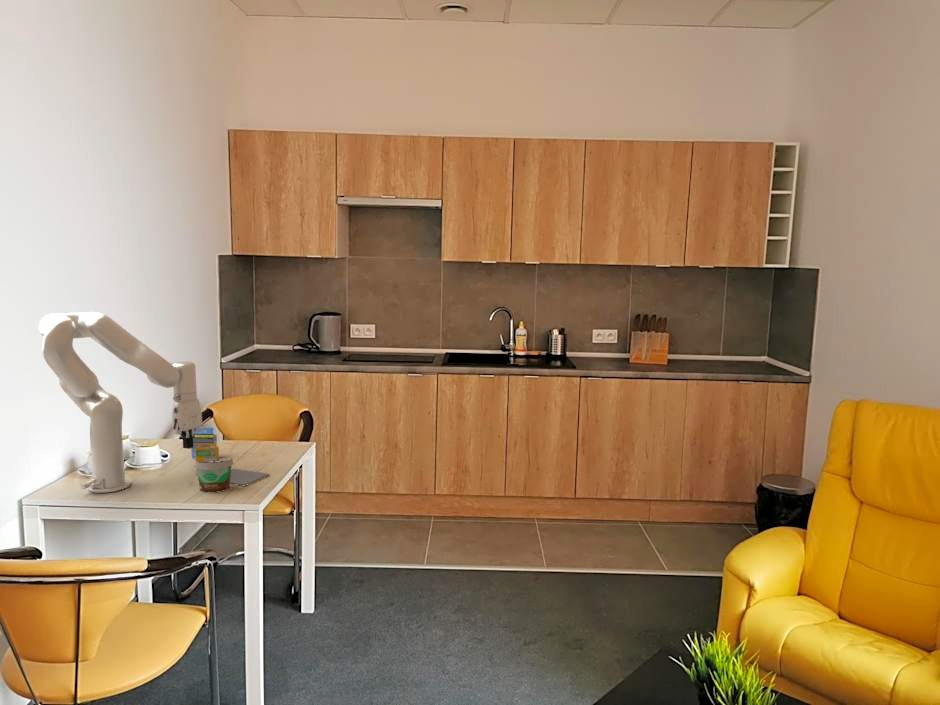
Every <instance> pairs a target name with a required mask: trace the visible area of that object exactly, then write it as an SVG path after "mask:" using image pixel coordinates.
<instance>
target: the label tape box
mask: <svg viewBox="0 0 940 705" xmlns="http://www.w3.org/2000/svg"><path fill="white" fill-rule="evenodd" d="M201 430H202V431H201ZM192 437H193V448H190V449H191V459H192V458H196V451H195V449H196V448H195V444H203V443H216V447H218V438H217V437H218V436H217V435H216V434H214V427H208V426H207V427H201V426H200V427H199V428H198V429H197V430H195V432H194V436H192ZM201 447H210V445H202V446H201Z"/></svg>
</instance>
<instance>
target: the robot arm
mask: <svg viewBox="0 0 940 705" xmlns="http://www.w3.org/2000/svg"><path fill="white" fill-rule="evenodd" d="M38 332H40V334H41V335H42V336H43V339H42V344H41V351H42V355H43V359H44V360H45V362H46V364H47V366H48V367H49V368H50V369H51V370H52V371H53V373H54V374H55V375H56V377H57V378H58V382H59V386H60V387H61V389H62V390H63V392H64V393H65V394H66V395H67V397H69V398H70V400H71V401H72V402H73V403H74V404H75V405H76V406H77V407H78V408H79V409H80V410H81V412H83V413H84V414H85V415H86V416H87V417H89V418H90V422H89V423H90V425H89V441H90V442H89V444H90V456H91V468H92V469H91V471H92V476H90V477H89V480H88V481H85V482H82V483H80V485H79V486H80V489H82V490H85V489H88V491H89V492H91V493H97V494H98V493H99V494H101V493H103V494H104V493H107V494H108V493H115V492H117V491H118V490H119V491H122V490H125V489H127V488H128V487H130V486H131V480H130V479H128V478H126V474H125V459H124V458H125V457H124V440H123V416H124V415H123V414H124V413H123V410H124V409H123V405H122V403H121V401H120V400H119V398H118V397H117V396H115V394H114V395H113V394H112V393H109V392H107V391H106V390H105V389H104V388H103V387H102V386H101V384H99V383H100V382H99V379H98V376H97V375H96V373H94V371H92V370H91V369H90V367H89V366H88V365H87V364H86V363H85V362H84V360H83V359H81V357H80V356H79V354H77V352H76V350H75V349H74V346H73V343H74V342H73V341H74V339H83V338H85V339H86V338H91V339H92V340H94V342H96V343H97V344H99V345H100V346H101V347H103V349H106V350H107V351H108V352H109V353H111V354H112V355H114V357H116V358H118V359H119V360H121V362H124V363H125V364H127V365H129V366H132V367H134V368H136V369H137V370H139V371H141V372H142V373H144V374H146V377H147V379H148V381H150V383H153V384H154V385H156V386H160V387H162V388H165V389H169V388H172V389H173V398H172V400H173V401H174V402H173V404H172V412H171V413H172V415H171V417H172V419H171V421H172V423H171V424H172V428H173V430H174V434H175V435H178V436H180V437H181V438H182V448H183V449H186V450H187V449H189V450H190V449H191V448H193V437H192V436H194V432H195V430H197V429H198V428H199V427H201V426H202V425H203V415H202V414H203V413H202V409H201V408H202V407H201V404H200V403H201V402H200V400H199V398H198V390H197V375H196V372H197V370H196V364H195V363H194V362H193V361H189V360H188V361H183V360H182V361H177V362H169V361H168V360H166V359H165V358H164V357H162V356H161V355H160V354H159V353H157V352H156V351H154V350H153V349H151V348H150V347H149V346H148V345H147V344H145V343H144V342H142V341H141V340H139V339H138V338H137V337H135V336H134V335H133V334H131V333H130V332H129V331H127V330H126V329H125V328H124V327H122V326H121V325H120V324H119V323H117V322H116V321H115V320H113V319H112V318H111V317H109V316H108V315H106V314H104V313H101V312H96V311H91V312H90V311H88V312H87V311H86V312H66V313H64V312H62V313H61V312H60V313H58V312H57V313H49V314H47V315H44V317H42V318H41V320H40V321H39V324H38ZM124 488H125V489H124ZM121 489H122V490H121ZM119 491H118V492H119Z"/></svg>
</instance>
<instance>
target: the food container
mask: <svg viewBox="0 0 940 705" xmlns="http://www.w3.org/2000/svg"><path fill="white" fill-rule="evenodd" d="M232 465H234V460H233V457H230V458H229V459H226V460H220V459H219V460H212V461H207V462H197V461H196V460H195V461H194V464H193V467H194V469H195V470H196V469H197V474H198V476H197V478H198V479H197V480H198V486H199V491H201V492H202V491H204V492H203V493H207V492H215V493H218V492H217V491H221V492H224V491H223V490H225V491H227V490H229V489H230V487H231V484H230V477H231V469H232ZM197 474H196V475H197ZM228 488H229V489H228ZM226 489H227V490H226Z"/></svg>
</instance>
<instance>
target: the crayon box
mask: <svg viewBox="0 0 940 705" xmlns="http://www.w3.org/2000/svg"><path fill="white" fill-rule="evenodd" d="M202 445H210V447H201V446H202ZM195 448H196V449H195V451H196V459H195V462H196V461H197V462H207V461H212V460H220V452H219V451H220V450H219V448H220V447H219V446H217V447H216V443H203V444H195ZM195 470H196V471H195V472H196V476H197V477H198V474H197V469H196V468H195Z"/></svg>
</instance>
